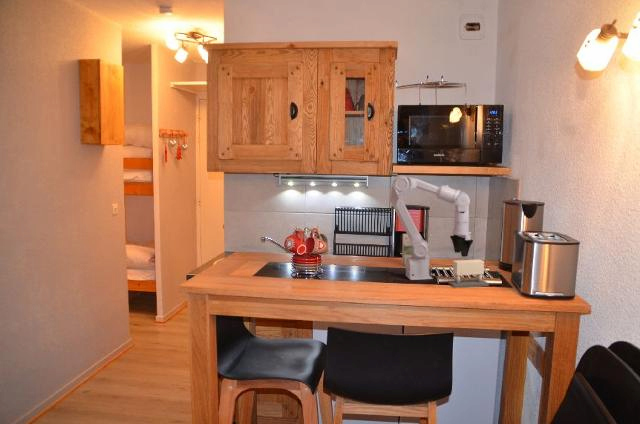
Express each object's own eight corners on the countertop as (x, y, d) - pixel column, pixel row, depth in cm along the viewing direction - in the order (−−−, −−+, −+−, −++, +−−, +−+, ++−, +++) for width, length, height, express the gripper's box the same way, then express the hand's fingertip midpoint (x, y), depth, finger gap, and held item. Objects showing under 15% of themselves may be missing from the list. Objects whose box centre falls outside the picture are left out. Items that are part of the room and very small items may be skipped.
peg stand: (454, 287, 192) (454, 276, 192) (447, 283, 199) (448, 272, 199) (488, 286, 194) (489, 274, 193) (481, 281, 201) (481, 270, 200)
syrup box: (414, 263, 235) (414, 233, 233) (415, 266, 229) (415, 235, 228) (402, 263, 236) (402, 233, 234) (403, 265, 230) (403, 235, 228)
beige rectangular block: (479, 271, 199) (479, 259, 198) (483, 274, 195) (484, 261, 194) (453, 272, 197) (453, 260, 197) (456, 275, 193) (457, 262, 193)
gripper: (478, 224, 195) (477, 257, 197) (464, 219, 210) (463, 250, 211) (460, 224, 195) (460, 258, 197) (448, 219, 209) (447, 251, 211)
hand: (460, 254), depth 204 cm, fingers open, 7 cm apart
